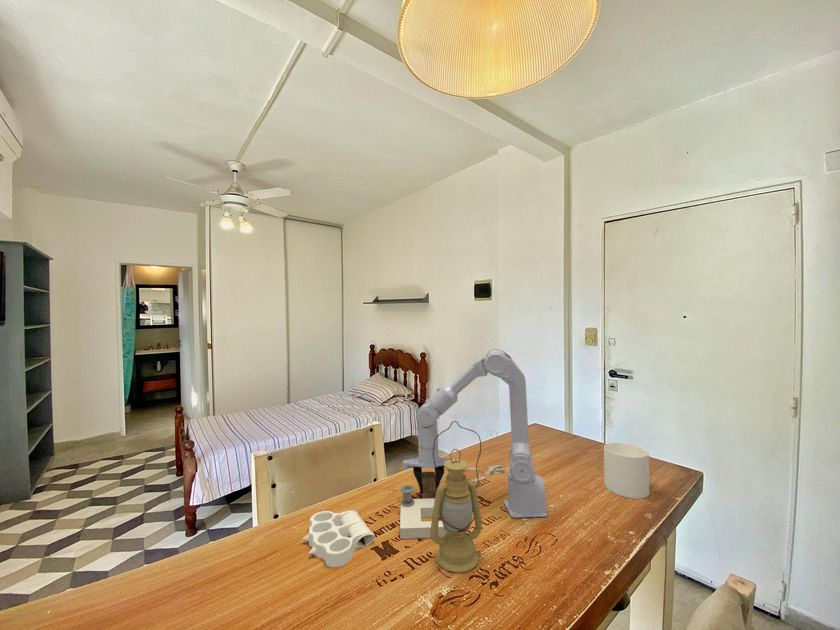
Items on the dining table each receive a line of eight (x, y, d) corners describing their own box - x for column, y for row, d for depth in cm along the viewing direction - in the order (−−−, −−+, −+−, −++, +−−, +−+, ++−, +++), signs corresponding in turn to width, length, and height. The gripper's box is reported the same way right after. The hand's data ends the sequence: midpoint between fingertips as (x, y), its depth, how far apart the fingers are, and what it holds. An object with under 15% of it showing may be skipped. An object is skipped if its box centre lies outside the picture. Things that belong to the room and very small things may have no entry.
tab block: (434, 495, 102) (434, 471, 102) (435, 502, 98) (435, 477, 98) (422, 495, 102) (422, 472, 102) (423, 502, 98) (422, 478, 98)
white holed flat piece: (380, 552, 78) (315, 578, 71) (352, 514, 94) (296, 532, 86) (380, 537, 78) (315, 562, 71) (351, 501, 94) (296, 519, 86)
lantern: (473, 538, 82) (472, 412, 82) (491, 567, 72) (489, 425, 73) (425, 546, 79) (423, 416, 79) (436, 578, 70) (434, 430, 70)
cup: (606, 494, 101) (606, 454, 101) (602, 477, 112) (601, 440, 112) (653, 502, 97) (653, 459, 97) (644, 483, 107) (643, 445, 107)
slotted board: (444, 507, 96) (443, 483, 96) (450, 537, 83) (449, 509, 83) (401, 508, 95) (400, 485, 95) (400, 538, 82) (399, 511, 82)
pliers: (456, 466, 118) (496, 461, 122) (456, 471, 118) (496, 465, 122) (468, 479, 109) (510, 473, 113) (468, 484, 109) (510, 478, 113)
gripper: (451, 439, 104) (451, 484, 104) (403, 441, 104) (404, 486, 104) (454, 448, 97) (455, 497, 97) (403, 450, 97) (403, 498, 97)
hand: (428, 492), depth 100 cm, fingers closed on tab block, 4 cm apart
